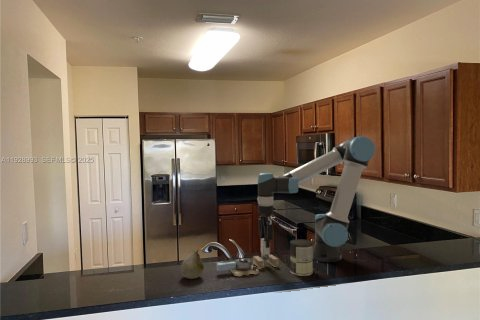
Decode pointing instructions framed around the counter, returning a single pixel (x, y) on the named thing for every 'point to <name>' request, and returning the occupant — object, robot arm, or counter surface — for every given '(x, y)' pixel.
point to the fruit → (192, 266)
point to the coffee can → (301, 257)
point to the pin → (266, 256)
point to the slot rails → (260, 262)
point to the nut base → (245, 271)
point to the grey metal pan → (235, 265)
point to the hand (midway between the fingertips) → (265, 252)
